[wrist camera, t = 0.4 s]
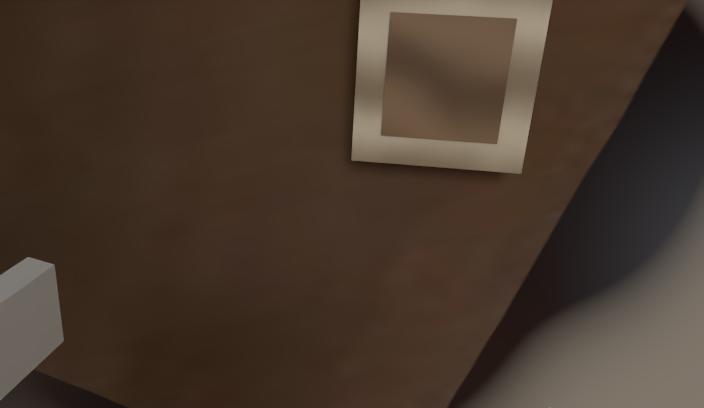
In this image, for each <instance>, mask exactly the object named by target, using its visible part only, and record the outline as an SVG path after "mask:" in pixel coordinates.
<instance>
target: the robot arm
mask: <svg viewBox="0 0 704 408" xmlns="http://www.w3.org/2000/svg"><path fill="white" fill-rule="evenodd" d="M63 341H64V338H63V330H62V322H61V314H60V306H59V298H58V289H57V281H56V273H55V265H54V264H51V263H47V262H44V261H40V260H37V259H33V258H30V257H27V258H26V259H24V260H23V261H21V262H20V263H18V264H17V265H15V266H13V267H12V268H10V269H9V270H7V271H6V272H4V273H3V274H1V275H0V400H1V399H2V398H3V397H5V396H6V395H7V394H8V393H9V392H10V391H11V390H12V389H13V388H14V387H15V386H16V385H17V384H18V383H19V382H20V381H21V380H23V379H24V378H25V377H26V376H27V375H28V374H29V373H30V372H31V371H32V370H33V369H34V368H35V367H36V366H38V365H39V364H40V363H41V362H42V361H43V360H44V359H45V358H46V357H47V356H48V355H49V354H50V353H51V352H52V351H54V350H55V349H56V348H57V347H58V346H59V345H60V344H61V343H62V342H63ZM547 408H550V407H547Z"/></svg>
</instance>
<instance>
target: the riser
mask: <svg viewBox="0 0 704 408" xmlns="http://www.w3.org/2000/svg"><path fill="white" fill-rule="evenodd" d="M552 1H553V0H360V16H359V34H358V51H357V69H356V87H355V104H354V122H353V139H352V157H351V160H353V161H365V162H378V163H391V164H404V165H416V166H429V167H442V168H455V169H467V170H480V171H493V172H506V173H518V174H521V172H522V166H523V161H524V155H525V150H526V144H527V139H528V133H529V128H530V122H531V117H532V111H533V106H534V100H535V95H536V89H537V84H538V78H539V73H540V67H541V62H542V56H543V51H544V45H545V40H546V34H547V29H548V23H549V17H550V12H551V6H552Z"/></svg>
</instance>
